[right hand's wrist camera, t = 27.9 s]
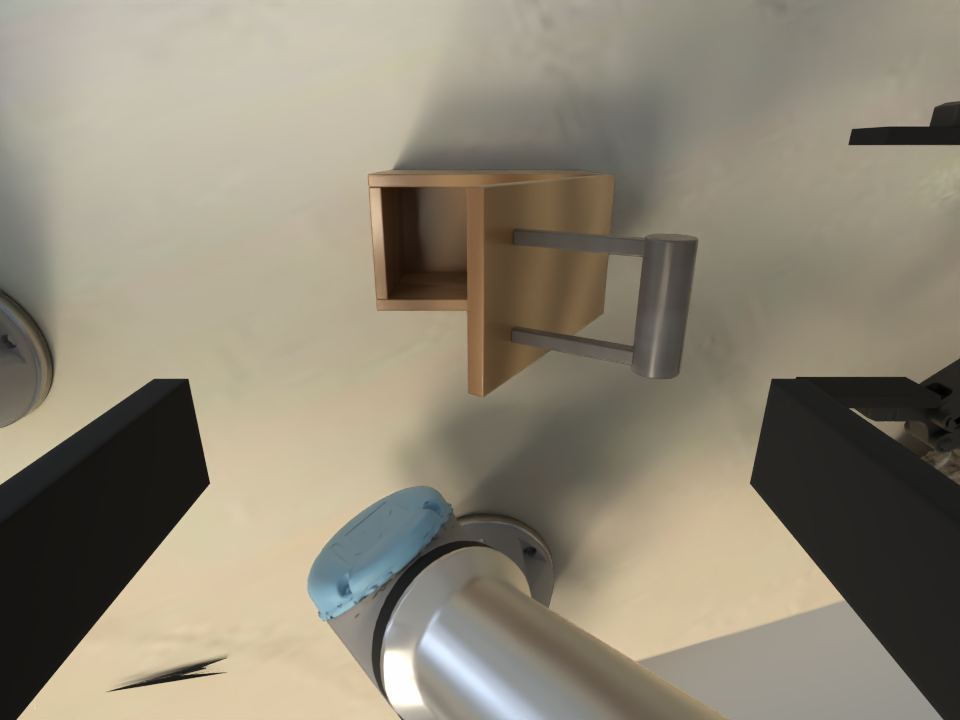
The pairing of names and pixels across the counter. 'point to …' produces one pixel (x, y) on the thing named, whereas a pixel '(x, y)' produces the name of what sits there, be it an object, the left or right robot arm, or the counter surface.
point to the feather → (172, 677)
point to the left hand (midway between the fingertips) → (834, 274)
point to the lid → (564, 280)
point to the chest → (429, 233)
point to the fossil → (945, 463)
